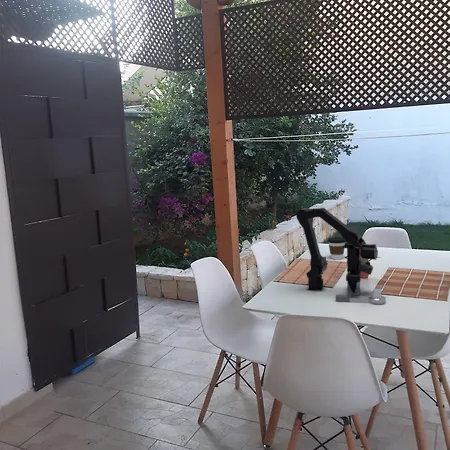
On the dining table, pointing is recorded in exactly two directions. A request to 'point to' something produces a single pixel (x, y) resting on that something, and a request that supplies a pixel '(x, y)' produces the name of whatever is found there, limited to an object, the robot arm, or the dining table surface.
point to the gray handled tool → (363, 298)
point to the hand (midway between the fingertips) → (353, 290)
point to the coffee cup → (336, 247)
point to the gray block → (357, 291)
